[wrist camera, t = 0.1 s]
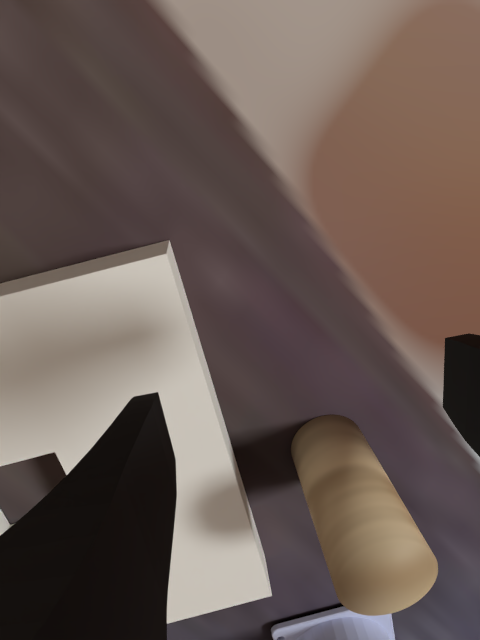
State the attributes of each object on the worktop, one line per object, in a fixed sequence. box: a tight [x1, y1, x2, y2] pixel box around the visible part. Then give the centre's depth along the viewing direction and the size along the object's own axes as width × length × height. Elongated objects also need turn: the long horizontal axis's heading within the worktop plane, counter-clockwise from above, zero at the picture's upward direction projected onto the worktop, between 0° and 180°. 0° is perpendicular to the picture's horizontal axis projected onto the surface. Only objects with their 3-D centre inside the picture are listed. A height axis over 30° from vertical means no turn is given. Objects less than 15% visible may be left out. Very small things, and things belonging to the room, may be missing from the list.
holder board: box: [0, 240, 272, 624], centre depth 22 cm, size 20×20×2 cm
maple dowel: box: [291, 415, 438, 616], centre depth 20 cm, size 4×4×8 cm
